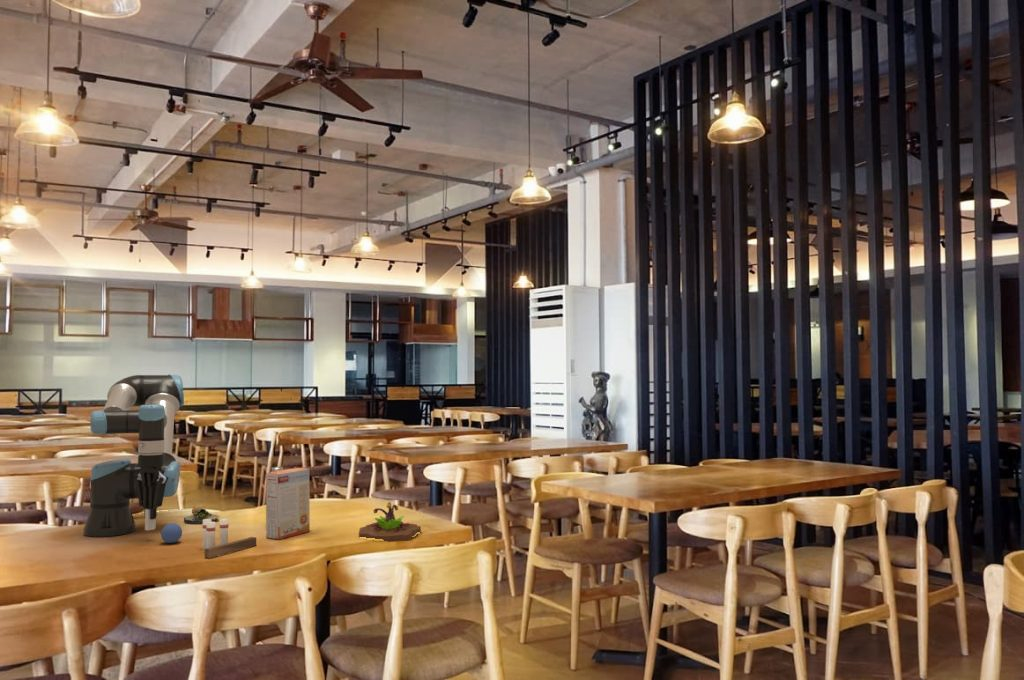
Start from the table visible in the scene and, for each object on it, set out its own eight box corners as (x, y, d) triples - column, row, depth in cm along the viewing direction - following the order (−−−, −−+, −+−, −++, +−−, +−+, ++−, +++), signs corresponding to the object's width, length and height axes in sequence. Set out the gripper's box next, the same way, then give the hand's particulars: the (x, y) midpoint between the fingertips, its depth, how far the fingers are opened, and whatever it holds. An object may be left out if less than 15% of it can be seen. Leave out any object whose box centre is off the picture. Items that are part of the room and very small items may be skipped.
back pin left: (217, 548, 241) (217, 519, 241) (223, 546, 243) (224, 518, 243) (223, 549, 240) (223, 520, 240) (229, 547, 242) (230, 519, 242)
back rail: (204, 557, 229) (204, 549, 229) (251, 545, 245) (251, 536, 245) (209, 558, 228) (209, 549, 228) (256, 545, 244) (256, 537, 244)
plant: (351, 542, 250) (351, 506, 251) (364, 529, 270) (365, 496, 270) (415, 543, 250) (415, 507, 250) (424, 530, 269) (424, 496, 270)
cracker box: (296, 530, 267) (297, 467, 267) (310, 532, 264) (310, 468, 264) (264, 538, 255) (265, 472, 255) (278, 540, 252) (278, 473, 252)
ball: (156, 544, 246) (156, 524, 246) (172, 540, 252) (172, 520, 252) (170, 546, 244) (170, 526, 244) (186, 542, 249) (186, 522, 249)
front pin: (200, 548, 240) (200, 519, 241) (207, 546, 243) (207, 518, 243) (206, 549, 239) (206, 520, 240) (213, 547, 242) (213, 519, 242)
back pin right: (204, 551, 236) (204, 522, 236) (210, 550, 238) (211, 521, 239) (210, 552, 235) (210, 523, 235) (217, 550, 237) (217, 522, 238)
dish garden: (208, 526, 275) (208, 504, 275) (176, 525, 277) (176, 503, 277) (225, 519, 287) (226, 498, 287) (195, 518, 289) (195, 497, 289)
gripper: (126, 454, 252) (125, 529, 251) (155, 455, 246) (154, 533, 245) (147, 451, 259) (146, 525, 258) (175, 453, 253) (174, 529, 252)
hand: (150, 529), depth 252 cm, fingers closed
